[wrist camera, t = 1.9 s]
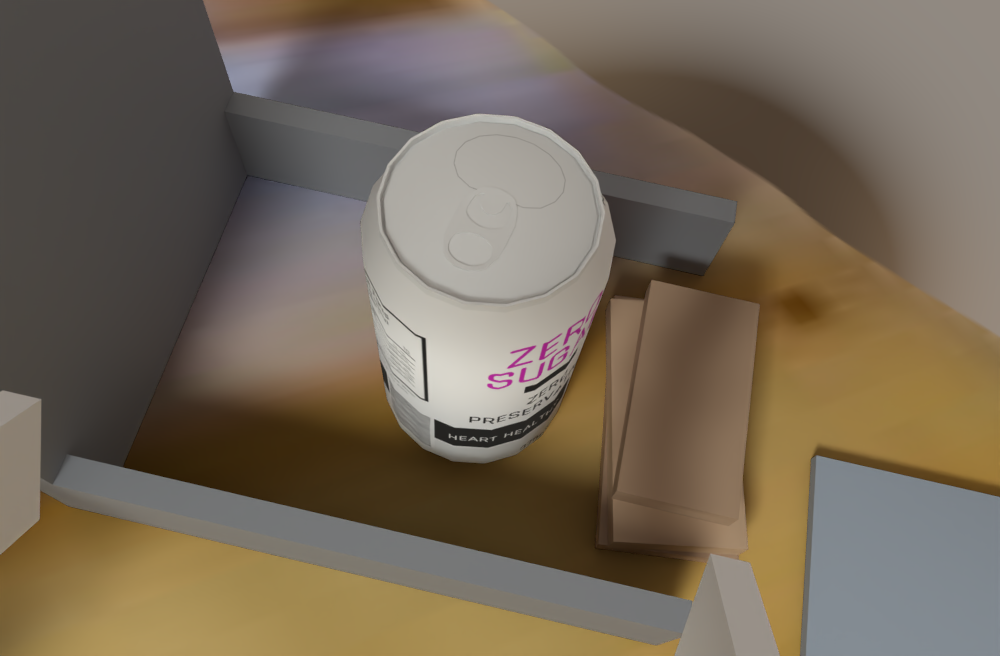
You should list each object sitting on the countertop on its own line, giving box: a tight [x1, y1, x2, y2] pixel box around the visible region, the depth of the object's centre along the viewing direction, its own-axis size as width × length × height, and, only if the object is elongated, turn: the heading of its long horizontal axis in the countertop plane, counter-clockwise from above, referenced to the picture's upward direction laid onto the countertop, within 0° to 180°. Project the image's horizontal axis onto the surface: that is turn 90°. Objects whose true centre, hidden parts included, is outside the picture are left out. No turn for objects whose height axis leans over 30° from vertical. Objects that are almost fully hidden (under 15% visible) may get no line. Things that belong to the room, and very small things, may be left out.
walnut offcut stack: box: [595, 280, 760, 563], centre depth 37 cm, size 7×12×4 cm, turn 173°
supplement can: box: [360, 114, 616, 463], centre depth 32 cm, size 8×8×15 cm
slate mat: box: [800, 455, 1000, 656], centre depth 35 cm, size 12×12×1 cm
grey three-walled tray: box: [0, 0, 737, 645], centre depth 30 cm, size 26×19×20 cm
